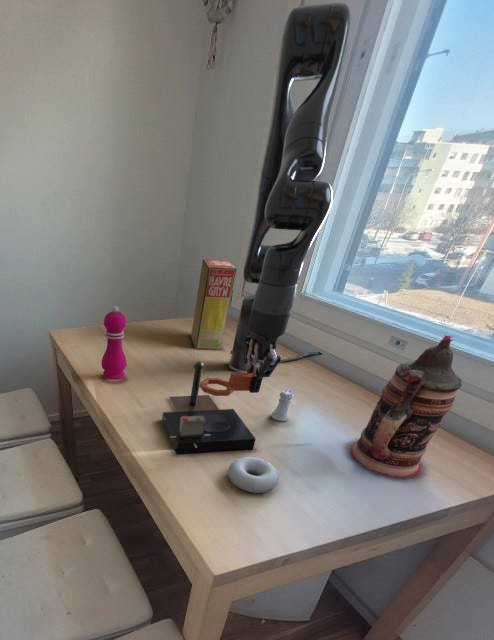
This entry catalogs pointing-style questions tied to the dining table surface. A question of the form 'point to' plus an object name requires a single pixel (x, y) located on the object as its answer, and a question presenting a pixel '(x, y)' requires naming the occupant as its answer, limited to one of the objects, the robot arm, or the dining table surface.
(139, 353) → the dining table surface
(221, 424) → the burner
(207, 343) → the food packaging
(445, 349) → the beer stein
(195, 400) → the peg stand
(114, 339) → the pepper mill
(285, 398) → the rook chess piece
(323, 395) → the dining table surface
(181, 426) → the knob
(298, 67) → the robot arm
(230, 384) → the hanging ring
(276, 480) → the donut
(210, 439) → the stove
